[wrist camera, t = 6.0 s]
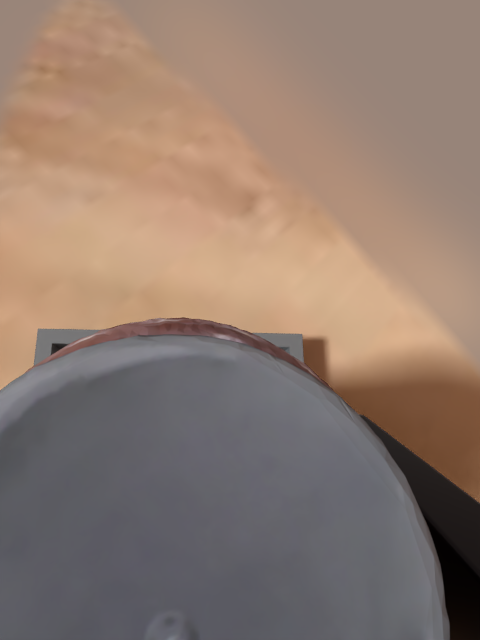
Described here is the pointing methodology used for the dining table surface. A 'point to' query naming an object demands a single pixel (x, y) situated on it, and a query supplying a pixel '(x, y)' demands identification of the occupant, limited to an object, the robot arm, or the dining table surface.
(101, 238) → the dining table surface
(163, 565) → the supplement bottle
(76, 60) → the dining table surface
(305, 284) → the dining table surface
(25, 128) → the dining table surface
